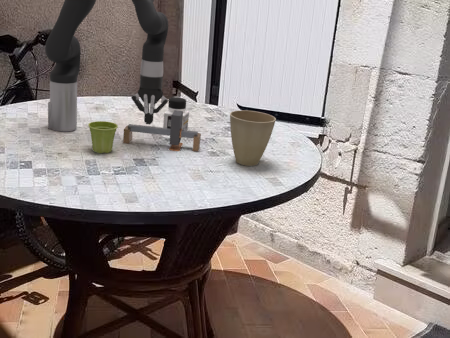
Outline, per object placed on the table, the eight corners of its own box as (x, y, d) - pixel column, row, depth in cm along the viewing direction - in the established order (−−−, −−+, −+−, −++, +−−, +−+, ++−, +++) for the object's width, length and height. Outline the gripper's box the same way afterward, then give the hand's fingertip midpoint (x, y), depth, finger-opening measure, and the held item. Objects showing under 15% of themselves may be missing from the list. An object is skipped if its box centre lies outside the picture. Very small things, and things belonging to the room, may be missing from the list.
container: (182, 135, 208) (184, 101, 203) (162, 132, 209) (164, 98, 205) (187, 130, 215) (190, 97, 211) (168, 127, 216) (170, 94, 212)
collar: (169, 144, 190) (171, 115, 187) (172, 138, 197) (174, 110, 193) (178, 145, 190) (180, 116, 187) (180, 139, 197) (183, 111, 193)
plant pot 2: (255, 173, 176) (262, 124, 171) (216, 161, 183) (221, 114, 178) (277, 163, 188) (283, 117, 183) (239, 152, 195) (244, 107, 190)
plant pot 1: (122, 149, 185) (123, 124, 182) (107, 157, 177) (108, 130, 174) (97, 144, 188) (98, 119, 185) (81, 151, 179) (82, 125, 177)
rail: (121, 144, 190) (122, 126, 188) (127, 137, 199) (128, 120, 197) (197, 153, 190) (199, 135, 187) (200, 145, 198) (201, 128, 196)
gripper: (129, 73, 183) (127, 124, 189) (169, 78, 183) (165, 129, 188) (134, 69, 190) (131, 119, 196) (172, 74, 190) (169, 123, 195)
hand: (148, 123), depth 192 cm, fingers closed
